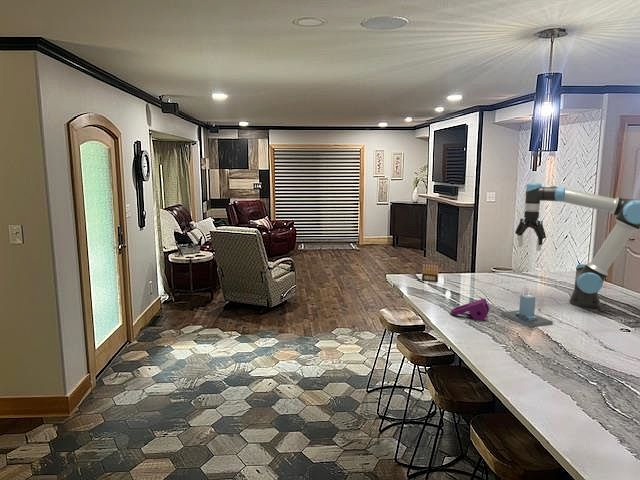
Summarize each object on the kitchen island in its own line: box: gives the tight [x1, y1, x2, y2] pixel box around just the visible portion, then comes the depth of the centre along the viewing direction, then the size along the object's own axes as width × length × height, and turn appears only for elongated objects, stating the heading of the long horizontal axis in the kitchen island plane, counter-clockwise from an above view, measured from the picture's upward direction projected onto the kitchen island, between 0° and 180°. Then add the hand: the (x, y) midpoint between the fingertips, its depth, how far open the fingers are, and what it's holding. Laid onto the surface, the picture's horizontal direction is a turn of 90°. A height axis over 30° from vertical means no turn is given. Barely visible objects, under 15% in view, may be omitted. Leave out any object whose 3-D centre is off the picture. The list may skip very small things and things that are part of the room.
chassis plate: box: [501, 310, 554, 328], centre depth 241 cm, size 20×14×2 cm
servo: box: [515, 294, 538, 320], centre depth 240 cm, size 10×5×13 cm, turn 21°
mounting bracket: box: [450, 297, 490, 321], centre depth 245 cm, size 9×8×18 cm
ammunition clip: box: [421, 263, 439, 283], centre depth 320 cm, size 11×2×12 cm, turn 67°
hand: (529, 248), depth 267 cm, fingers open, 13 cm apart
